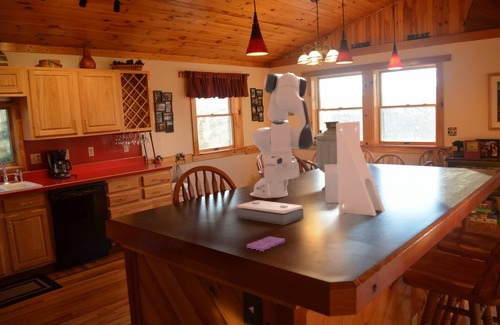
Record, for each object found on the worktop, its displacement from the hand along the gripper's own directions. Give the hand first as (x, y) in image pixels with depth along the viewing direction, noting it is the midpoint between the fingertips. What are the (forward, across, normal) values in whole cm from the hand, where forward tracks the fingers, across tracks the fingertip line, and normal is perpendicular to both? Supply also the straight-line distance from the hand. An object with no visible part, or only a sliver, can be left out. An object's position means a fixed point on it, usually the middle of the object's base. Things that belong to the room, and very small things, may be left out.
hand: (283, 190), depth 171 cm
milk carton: (+13, -42, -1) cm, 44 cm away
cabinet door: (+8, 0, -8) cm, 11 cm away
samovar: (+13, -77, -18) cm, 80 cm away
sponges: (+14, +31, +16) cm, 37 cm away
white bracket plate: (+13, -30, +22) cm, 39 cm away
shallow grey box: (+13, 0, -8) cm, 15 cm away
